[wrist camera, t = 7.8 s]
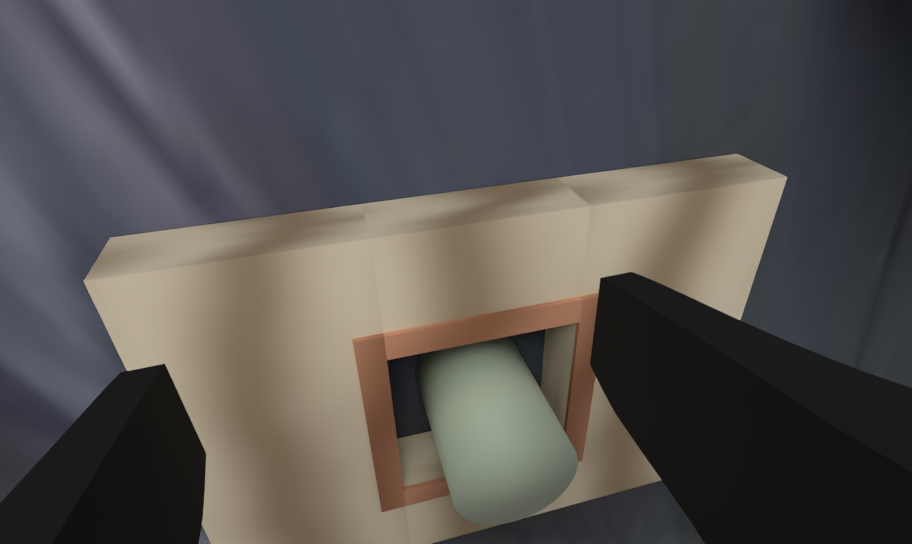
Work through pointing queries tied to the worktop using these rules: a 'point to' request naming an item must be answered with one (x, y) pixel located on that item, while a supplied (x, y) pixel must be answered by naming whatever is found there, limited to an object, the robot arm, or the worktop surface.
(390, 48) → the worktop surface
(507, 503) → the green peg
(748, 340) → the robot arm
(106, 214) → the worktop surface
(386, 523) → the hole plate
